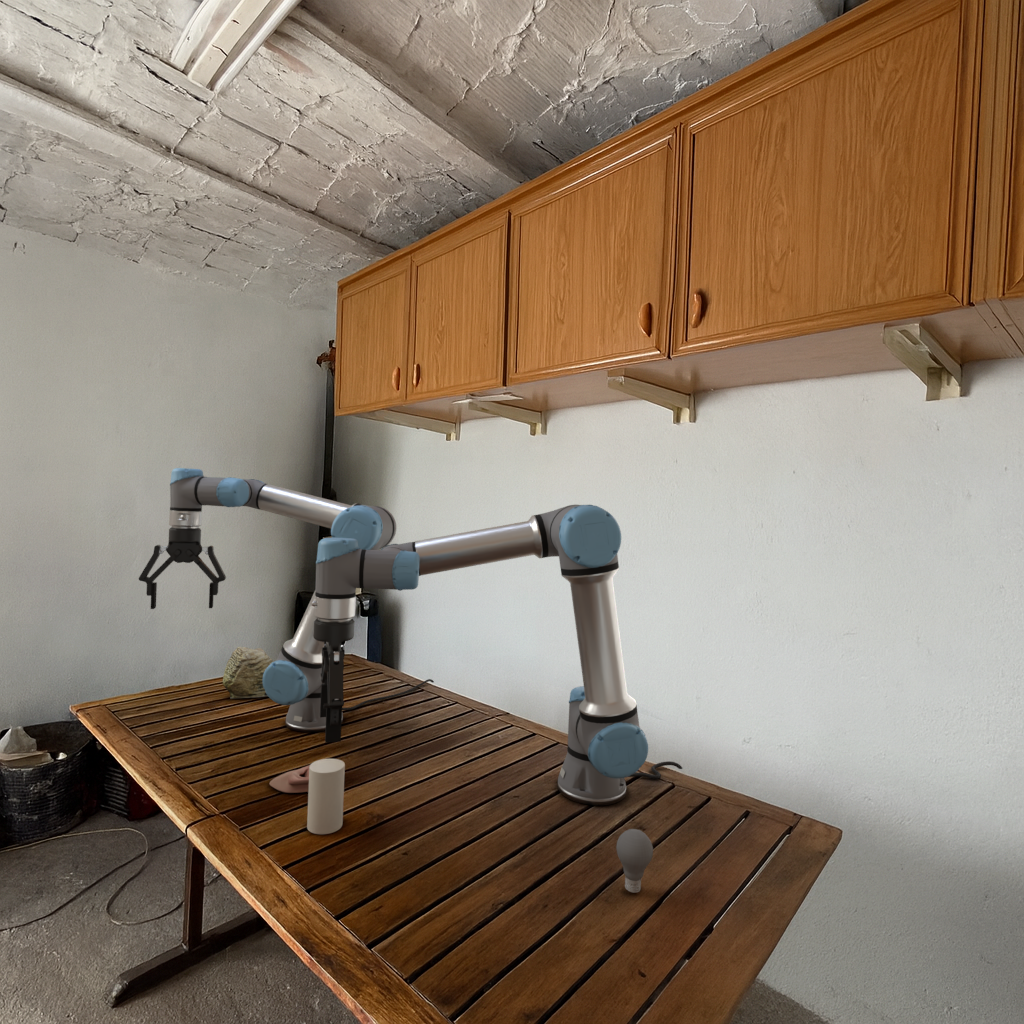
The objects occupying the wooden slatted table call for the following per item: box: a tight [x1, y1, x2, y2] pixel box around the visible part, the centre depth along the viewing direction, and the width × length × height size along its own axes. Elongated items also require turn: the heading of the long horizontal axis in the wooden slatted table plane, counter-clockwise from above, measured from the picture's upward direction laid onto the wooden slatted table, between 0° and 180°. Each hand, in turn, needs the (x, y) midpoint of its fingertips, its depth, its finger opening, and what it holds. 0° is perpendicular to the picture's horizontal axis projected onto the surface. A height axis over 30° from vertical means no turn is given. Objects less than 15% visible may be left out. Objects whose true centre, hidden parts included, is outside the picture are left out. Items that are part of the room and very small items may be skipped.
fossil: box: [222, 646, 275, 699], centre depth 198 cm, size 9×18×15 cm, turn 132°
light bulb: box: [615, 828, 654, 894], centre depth 106 cm, size 6×6×10 cm
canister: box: [306, 758, 346, 835], centre depth 122 cm, size 7×7×12 cm
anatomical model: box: [269, 764, 311, 794], centre depth 140 cm, size 13×4×12 cm
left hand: (182, 607), depth 166 cm, fingers open, 13 cm apart
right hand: (329, 728), depth 122 cm, fingers open, 13 cm apart
